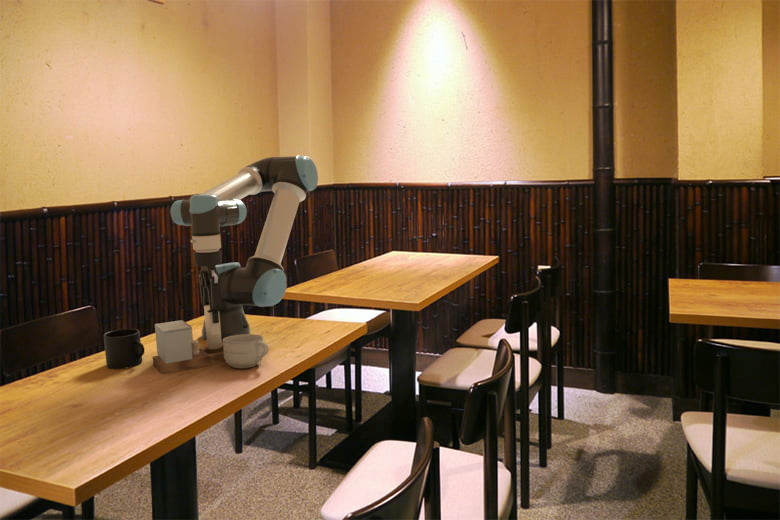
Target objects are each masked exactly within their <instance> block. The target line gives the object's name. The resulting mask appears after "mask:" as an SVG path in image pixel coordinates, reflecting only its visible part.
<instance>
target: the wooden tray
mask: <svg viewBox="0 0 780 520" xmlns="http://www.w3.org/2000/svg"><path fill="white" fill-rule="evenodd" d="M191 346H192V358H193V359H190V360H184V361H179V362H173V363H168V364H166V363H165V362H164V361H163V360H162V359H161V358H160V357H159V356H158V355H154V356H152V361H153V366H154V368H156V370H157V371H159V373H161V375H165V374H170V373H175V372H181V371H187V370H192V369H197V368H202V367H207V366H210V365H211V366H212V365H217V364H218V365H219V364H223V363H227V362H226V361H225V358H224V350H223V344H222V347H221V348H218V349H208V348H207V346H205V347H200V345H199V340H198V339H197V340H195V339H194V340H193V341H191Z"/></svg>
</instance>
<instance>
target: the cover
mask: <svg viewBox="0 0 780 520" xmlns="http://www.w3.org/2000/svg"><path fill="white" fill-rule="evenodd" d="M154 331H155V341H156V351H157V352H156V354H157V355H156V356H159V357H160V358H161V359H162V360H163V361H164V362H165V363H166V364H168V363H173V362H179V361H184V360H190V359H193V358H192V346H191V341H193V339H194V337H193V336H194V335H193V326H192V325H190V324H188V323H187V322H185V321H184V320H183V319H181V320H175V321H168V322H167V321H165V322H161V323H154Z"/></svg>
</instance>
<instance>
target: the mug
mask: <svg viewBox="0 0 780 520" xmlns="http://www.w3.org/2000/svg"><path fill="white" fill-rule="evenodd" d="M103 343H104V353H105V364H106V367H107V368H109V369H113V370H114V369H115V370H118V369H119V370H123V369H129V368H132V367H136V366H138V365H141V364H142V362H143V356H144V355H145V346H144V344H143V343H142V342H141V332H140V330H139V329H136V328H124V329H115V330H111V331H108V332H105V333H104V334H103Z"/></svg>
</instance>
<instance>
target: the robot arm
mask: <svg viewBox="0 0 780 520" xmlns="http://www.w3.org/2000/svg"><path fill="white" fill-rule="evenodd" d="M318 175H319V174H318V169H317V165H316V164H315V161H314V160H313V159H312V158H311V157H309V156H307V155H296V156H291V155H290V156H269V157H265V158H261V159H260V160H257V161H254V162H253V163H251V164H249V165H246V166H245V167H242V168H241V169H240V170H239V171H238V174H236V175H234V176H232V177H230V178H228V179H226V180H225V181H222V182H220V183H219V184H216V185H215V186H213V187H211V188H209V189H207V190H205V191H203V192H201V193H200V194H192V195H191V196H190V198H189V199H180V200H179V199H178V200H176V201H174V202H172V205H171V207H170V217H171V220H172V222H173V223H175V224H176V225H179V226H186V227H188V226H189V227H190V226H191V238H192V239H190V243H191V244H192V249H193V250H194V251H193V264H194V265H195V266H197V267H200V270H198V271H197V275H198V282H199V293H200V304H201V306H202V307H203V308H204V306H205V305H209V306H210V310H208V311H207V312H208V313H209V321H210V334H211V335H215V334H221V341H222V342H223V339H224V338H225V337H229V336H234V335H242V334H251V327H250V323H249V320H248V319H247V316H246V314H245V311H244V306H254V307H255V306H256V307H262V308H263V307H274V306H275V305H277V304H279V303H280V301H281V300H282V299H283V297H284V295H285V293H286V290H287V285H288V284H287V282H288V281H287V275H286V273H285V272H284V270H285V269H284V267H283V266H282V260H283V257H284V255H285V252H286V251H285V250H286V247H287V244H288V240H289V238H290V234H291V231H292V228H293V224H294V221H295V218H296V215H297V211H298V208H299V205H300V203H301V202H303V201H305V199H306V198H307V194H308V192H312V191H314V190H315V189H317V187H318V184H319V183H318V182H319V176H318ZM262 192H272V193H274V195H273V198H272V201H271V204H270V207H269V209H268V213H267V215H266V216H267V217H266V220H265V222H264V225H263V229H262V232H261V234H260V238H259V240H258V244H257V246H256V250H255V253H254V255H252V256H250V257H249V258H248V259H247V261H246V264H245V267H241V266H242V265H241V264H240V262H238V261H237V262H227V263H222V262H223V258H222V256H223V255H222V251H221V250H220V249H221V248H222V240H221V231H220V230H221V229H220V228H221V227H227V226H236V225H238V224H242V223H243V222H244V221H245V219H246V218H247V212H248V211H247V207H246V205H245V203H244V202H243V201H242V199H243V198H245V197H247V196H249V195H250V196H252V195H253V196H254V195H257V194H259V193H262ZM203 313H204V312H203ZM204 315H205V313H204ZM220 328H221V329H220ZM201 337H202V339H203V340H205V341H207V337H206V325H205V319H204V321H203V325H202V327H201Z"/></svg>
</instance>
